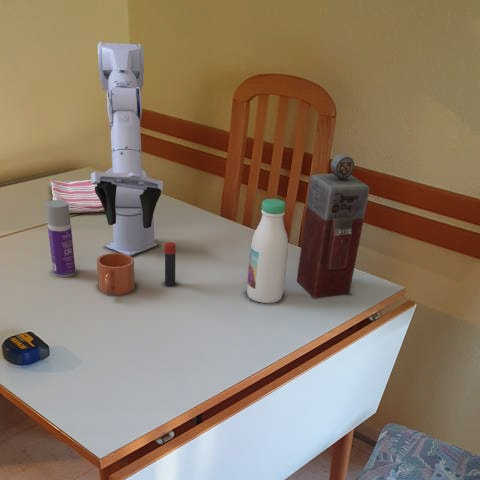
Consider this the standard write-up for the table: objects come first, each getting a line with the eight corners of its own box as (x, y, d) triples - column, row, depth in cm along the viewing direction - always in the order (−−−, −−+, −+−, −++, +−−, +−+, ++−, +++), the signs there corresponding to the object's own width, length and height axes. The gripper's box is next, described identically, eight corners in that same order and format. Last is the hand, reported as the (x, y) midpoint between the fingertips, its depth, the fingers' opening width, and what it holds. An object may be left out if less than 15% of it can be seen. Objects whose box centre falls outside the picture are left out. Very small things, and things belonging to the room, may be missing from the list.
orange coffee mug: (104, 277, 136) (102, 251, 132) (138, 281, 135) (137, 255, 132) (90, 299, 127) (87, 271, 124) (126, 303, 127) (124, 275, 123)
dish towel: (54, 215, 162) (53, 202, 160) (49, 186, 180) (48, 174, 177) (121, 213, 167) (120, 200, 165) (110, 185, 184) (109, 173, 182)
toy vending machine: (318, 303, 133) (340, 166, 116) (296, 280, 141) (313, 149, 124) (355, 299, 136) (381, 164, 119) (331, 277, 144) (353, 148, 127)
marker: (169, 280, 137) (169, 240, 131) (177, 284, 136) (178, 244, 130) (162, 284, 135) (162, 243, 130) (170, 287, 134) (170, 247, 129)
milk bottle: (286, 292, 136) (298, 199, 124) (276, 307, 130) (287, 211, 118) (253, 284, 138) (261, 192, 126) (241, 299, 132) (249, 204, 120)
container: (70, 278, 134) (62, 208, 125) (49, 275, 135) (40, 205, 125) (79, 270, 138) (72, 201, 128) (59, 266, 138) (51, 198, 129)
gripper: (99, 142, 115) (103, 219, 117) (169, 154, 123) (172, 225, 125) (85, 152, 121) (89, 225, 122) (152, 162, 129) (155, 231, 131)
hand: (130, 225), depth 124 cm, fingers open, 7 cm apart
